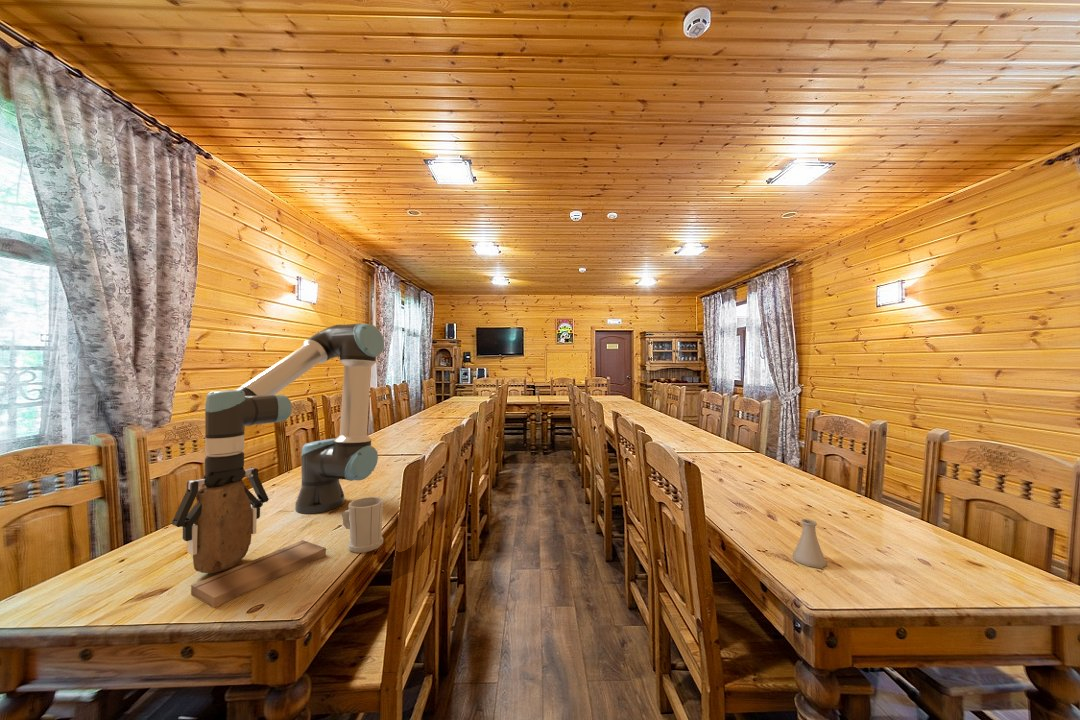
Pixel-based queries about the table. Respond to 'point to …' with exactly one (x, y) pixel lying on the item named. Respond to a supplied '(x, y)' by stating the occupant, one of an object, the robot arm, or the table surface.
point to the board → (256, 573)
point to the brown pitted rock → (222, 527)
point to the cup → (364, 524)
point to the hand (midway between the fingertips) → (223, 542)
